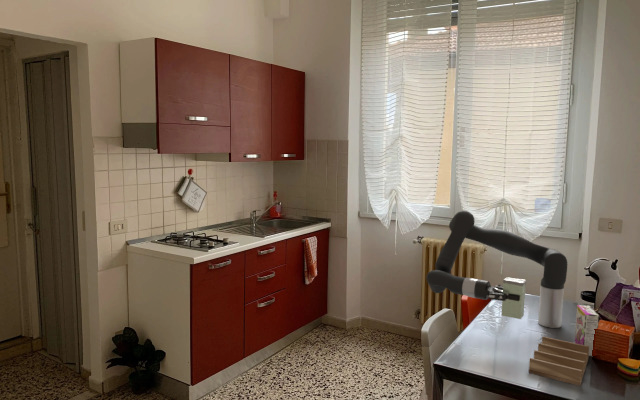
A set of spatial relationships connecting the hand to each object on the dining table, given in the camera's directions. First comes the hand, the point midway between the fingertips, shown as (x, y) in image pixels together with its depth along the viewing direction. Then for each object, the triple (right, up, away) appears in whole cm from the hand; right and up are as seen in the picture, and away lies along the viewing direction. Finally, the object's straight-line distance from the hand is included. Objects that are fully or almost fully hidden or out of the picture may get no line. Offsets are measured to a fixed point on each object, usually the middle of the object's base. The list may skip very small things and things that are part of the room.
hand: (521, 296), depth 185 cm
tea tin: (-2, -8, +2) cm, 8 cm away
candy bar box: (+26, -22, +4) cm, 35 cm away
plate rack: (+10, -23, -9) cm, 27 cm away
